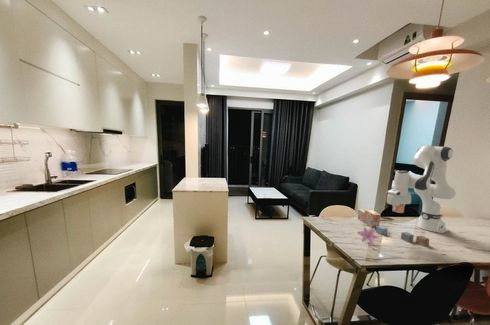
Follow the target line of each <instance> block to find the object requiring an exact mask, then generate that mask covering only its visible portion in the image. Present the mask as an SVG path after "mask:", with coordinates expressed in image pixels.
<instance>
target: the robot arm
mask: <svg viewBox="0 0 490 325" xmlns="http://www.w3.org/2000/svg"><path fill="white" fill-rule="evenodd" d="M453 156H454V151H453V149H452V148H451V147H449V146H436V145H435V146H433V145H429V144H427V145H426V144H425V145H423V146H421V147H419V148H418V149H417V151H416V153H415V154H414V156H413V158H412V161H413V163H414V165H415V166H416V167H419V168H421V169H423V170H424V172H423V174H422V175H411V174H410V172H409V171H408V170H404V169H403V170H397V171H396V172H395V175H394V179H393V183H394V184H393V188H391V189H389V190H387V195H386V196H387V197H386V204H388V205H390V206H391V205H392V208H393V210H397V208H396V204H399V205H402V206H404V207H405V206H406V205H410V204H411V203H412V195H411V192H410V191H409V189H413V190H414V192H415V194H416V195H418V196H419V197H420V199H421V201H422V210H421V211H420V216H419V217H418V221H417V222H416V225H417V227H418V228H420V229H422V230H425V231H429V232H435V233H438V234H444V233H447V232H449V231H450V228H447V227H446V225H447V224H446V222H445V221H443V220H442V219H441V218H442V217H444V214H441V208H442V207H441V204H440V203H439V202H437V201H435V200H434V199H433V198H437V199H441V200H452V199H454V198H455V196H456V194H457V193H456V190H455V189H454V187H452V186H451V185H450V184H449V183H448V182H447V179H446V175H447V174H446V173H447V164H448V163H447V161H449V160H450V159H451V158H452V157H453ZM431 181H433V182H435V184H433V183H431Z"/></svg>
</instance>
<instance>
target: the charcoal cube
mask: <svg viewBox="0 0 490 325" xmlns="http://www.w3.org/2000/svg"><path fill="white" fill-rule="evenodd" d="M400 240H403V241H405V242H408V243H411V242H414V234H412V233H410V232H408V231H402V232H401V236H400Z"/></svg>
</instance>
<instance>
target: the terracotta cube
mask: <svg viewBox="0 0 490 325" xmlns="http://www.w3.org/2000/svg"><path fill="white" fill-rule="evenodd" d="M396 208H397V210H393V207H392V209H391V211H392V212H395V213H398V214H403V213H405V206H402V205H401V204H396Z"/></svg>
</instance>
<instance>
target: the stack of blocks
mask: <svg viewBox="0 0 490 325" xmlns="http://www.w3.org/2000/svg"><path fill="white" fill-rule="evenodd" d="M357 220H360V222H362V223H363V224H365V223H366V224H365V225H366V226H368V227H369V228H370V229H373V228H375V229H377V226H380V221H381V214H380V213H378V212H377V211H375V210H372V209H361V208H359V209H358V211H357Z"/></svg>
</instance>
